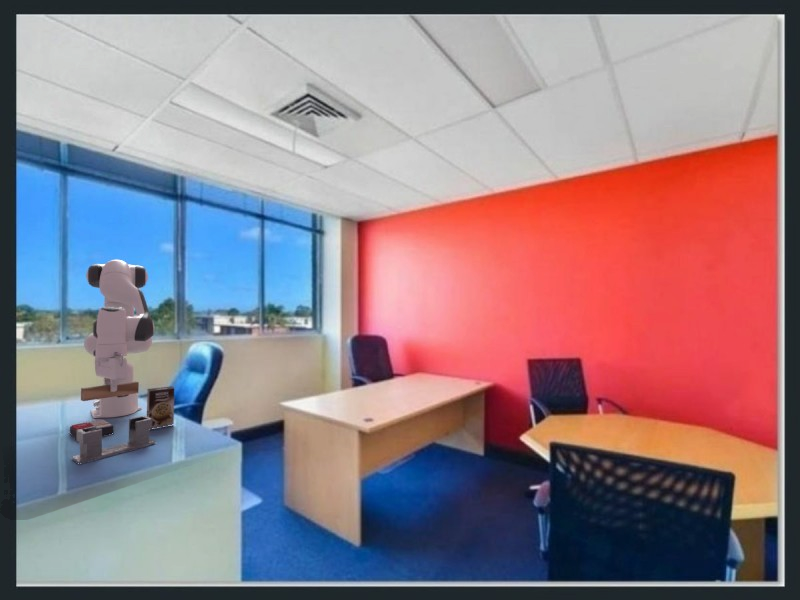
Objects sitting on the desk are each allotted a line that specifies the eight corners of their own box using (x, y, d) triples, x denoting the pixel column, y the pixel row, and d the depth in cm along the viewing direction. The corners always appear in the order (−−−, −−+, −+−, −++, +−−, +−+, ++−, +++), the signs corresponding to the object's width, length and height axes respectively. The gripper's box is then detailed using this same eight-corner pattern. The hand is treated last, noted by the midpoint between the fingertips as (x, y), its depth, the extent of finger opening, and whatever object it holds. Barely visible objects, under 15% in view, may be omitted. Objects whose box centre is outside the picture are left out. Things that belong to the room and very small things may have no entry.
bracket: (72, 459, 124) (72, 430, 124) (147, 440, 142) (147, 414, 142) (78, 464, 120) (79, 434, 120) (155, 444, 138) (155, 418, 138)
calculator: (103, 418, 158) (113, 423, 149) (103, 428, 158) (113, 434, 148) (69, 424, 150) (77, 430, 140) (69, 435, 150) (77, 442, 140)
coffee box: (148, 430, 152) (149, 391, 153) (146, 427, 157) (146, 388, 157) (174, 426, 158) (174, 388, 159) (171, 422, 163) (171, 385, 164)
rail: (80, 400, 127) (81, 388, 128) (135, 392, 140) (135, 381, 141) (83, 401, 126) (83, 389, 126) (138, 392, 139) (138, 382, 139)
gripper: (133, 352, 130) (132, 392, 130) (112, 349, 142) (111, 386, 142) (111, 354, 125) (110, 395, 124) (91, 351, 137) (90, 389, 136)
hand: (110, 390), depth 133 cm, fingers closed on rail, 3 cm apart
